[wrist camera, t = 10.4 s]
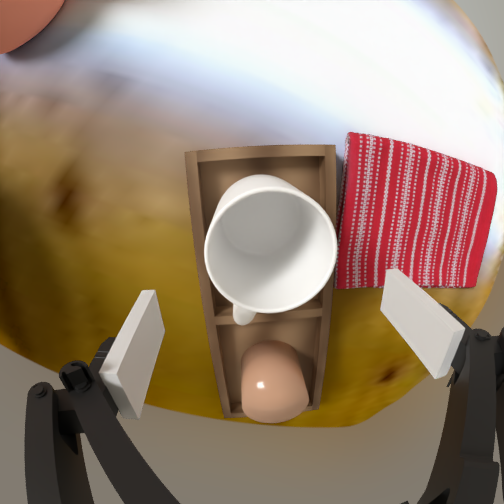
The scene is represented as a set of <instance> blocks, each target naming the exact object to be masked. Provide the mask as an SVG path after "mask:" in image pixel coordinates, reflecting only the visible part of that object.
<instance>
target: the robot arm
mask: <svg viewBox="0 0 504 504" xmlns="http://www.w3.org/2000/svg"><path fill="white" fill-rule="evenodd" d="M380 310H381V311H382V312H383V314H384V315H385V316H386V317H387V319H388V320H389V321H390V322H391V323H392V325H393V326H394V327H395V328H396V330H397V331H398V332H399V333H400V335H401V336H402V337H403V338H404V340H405V341H406V342H407V343H408V345H409V346H410V347H411V349H412V350H413V351H414V352H415V354H416V355H417V356H418V358H419V359H420V360H421V361H422V363H423V364H424V365H425V367H426V368H427V369H428V371H429V372H430V373H431V375H432V376H433V377H434V379H438V378H440V377H443V376H445V375H447V373H448V370H449V368H450V366H452V367H453V368H454V372H453V374H452V377H451V378H450V380H449V383H448V385H447V387H449V385H450V384H451V388H450V395H449V402H448V408H447V413H446V418H445V424H444V428H443V432H442V437H441V441H440V445H439V449H438V453H437V456H436V460H435V463H434V467H433V470H432V473H431V476H430V479H429V482H428V485H427V488H426V490H425V492H424V494H423V495H422V497H421V498H420V500H419V501H418V503H417V504H493V502H494V498H495V492H496V487H497V482H498V476H499V463H498V462H493V451H494V442H495V428H496V432H497V439H498V445H499V453H500V462H501V474H502V490H503V500H504V328H502V330H501V333H500V335H499V336H491V335H490V334H489V333H488V332H487V331H485V330H482V329H473V330H472V329H471V328H470V327H469V326H468V325H467V324H466V323H465V322H463V321H462V320H461V319H460V318H459V317H457V315H456V314H455V313H453V312H452V311H451V310H450V309H449V308H448V307H447V306H445V305H443V304H441V303H437V302H436V301H435V300H434V299H433V298H432V297H430V296H429V295H428V294H427V293H426V292H425V291H424V290H422V289H421V288H420V287H419V286H418V285H417V284H415V283H414V282H413V281H412V280H411V279H409V278H408V277H407V276H406V275H405V274H403V273H402V272H401V271H400V270H399V269H397V268H395V269H387V270H386V277H385V284H384V291H383V297H382V303H381V309H380ZM164 333H165V329H164V325H163V321H162V317H161V313H160V309H159V304H158V300H157V296H156V291H155V290H142V292H141V294H140V295H139V297H138V299H137V301H136V302H135V304H134V306H133V308H132V310H131V311H130V313H129V315H128V317H127V319H126V321H125V322H124V324H123V326H122V328H121V330H120V332H119V334H118V335H117V337H109V338H108V339H106V340H105V341H104V342H103V343H102V344H101V346H100V348H99V349H98V352H97V353H96V355H95V358H93V360H92V362H91V364H90V366H89V367H88V365H87V364H86V363H85V362H83V361H72V362H69V363H68V364H66V365H64V366H63V367H62V368H61V370H60V372H59V378H60V379H61V381H62V383H63V385H64V386H65V388H66V389H61V390H54V389H53V387H52V386H51V385H50V384H49V383H47V382H40V383H37V384H35V385H34V386H32V387H31V389H30V390H29V392H28V397H27V407H26V420H25V421H26V422H25V477H26V489H27V499H28V504H94V501H93V497H92V493H91V489H90V485H89V481H88V477H87V472H86V467H85V462H84V457H83V451H82V445H81V438H80V433H85V434H86V436H87V438H88V441H89V443H90V445H91V447H92V449H93V451H94V453H95V455H96V456H97V458H98V460H99V462H100V464H101V466H102V468H103V469H104V471H105V473H106V475H107V476H108V478H109V480H110V482H111V483H112V485H113V486H114V488H115V489H116V491H117V493H118V494H119V496H120V497H121V499H122V500H123V502H124V503H125V504H180V503H179V502H178V500H177V499H176V498H175V497H174V496H173V495H172V494H171V493H170V491H169V490H168V489H167V488H166V487H165V486H164V484H163V483H162V482H161V481H160V479H159V478H158V477H157V476H156V474H155V473H154V472H153V471H152V469H151V468H150V467H149V465H148V464H147V463H146V461H145V460H144V459H143V457H142V456H141V454H140V453H139V452H138V450H137V449H136V447H135V446H134V444H133V443H132V441H131V440H130V438H129V437H128V436H127V434H126V432H125V431H124V429H123V428H122V426H121V425H120V423H119V421H118V420H117V418H116V415H117V413H118V410H119V412H120V414H121V415H122V417H123V418H126V419H137V420H139V419H140V415H141V411H142V408H143V404H144V400H145V397H146V393H147V390H148V386H149V383H150V379H151V376H152V372H153V369H154V366H155V362H156V359H157V356H158V352H159V349H160V346H161V343H162V339H163V336H164ZM401 504H409V503H408V501H406V502H404V503H401Z"/></svg>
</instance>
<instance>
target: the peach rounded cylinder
mask: <svg viewBox="0 0 504 504" xmlns="http://www.w3.org/2000/svg"><path fill="white" fill-rule="evenodd" d="M241 390H242V409H243V411H244V413H245V414H246V415H247V416H248V417H249V418H251V419H253V420H255V421H259V422H263V423H278V422H283V421H287V420H290V419H292V418H294V417H296V416H298V415H299V414H300V413H302V412H303V411H304V410H305V408H306V407H307V405H308V402H309V396H308V392H307V389H306V385H305V381H304V377H303V374H302V370H301V366H300V363H299V359H298V355H297V353H296V351H295V349H294V348H293V347H292V346H291V345H289V344H287V343H285V342H282V341H277V340H267V341H262V342H259V343H256V344H254V345H252V346H251V347H249V348H248V349H247V350H246V351H245V352H244V354H243V356H242V358H241Z"/></svg>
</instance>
